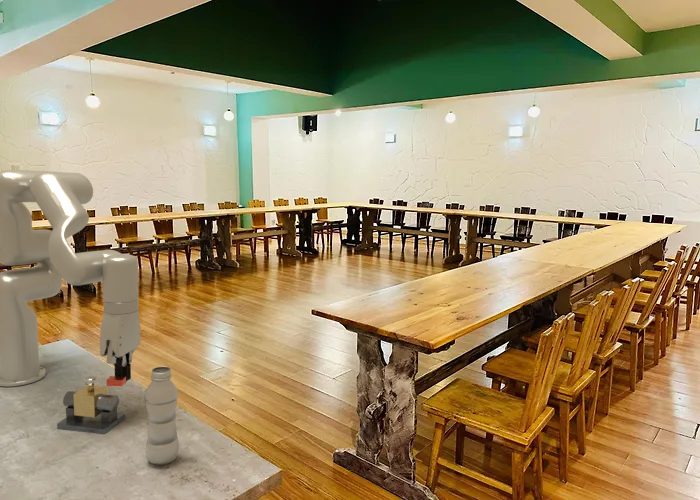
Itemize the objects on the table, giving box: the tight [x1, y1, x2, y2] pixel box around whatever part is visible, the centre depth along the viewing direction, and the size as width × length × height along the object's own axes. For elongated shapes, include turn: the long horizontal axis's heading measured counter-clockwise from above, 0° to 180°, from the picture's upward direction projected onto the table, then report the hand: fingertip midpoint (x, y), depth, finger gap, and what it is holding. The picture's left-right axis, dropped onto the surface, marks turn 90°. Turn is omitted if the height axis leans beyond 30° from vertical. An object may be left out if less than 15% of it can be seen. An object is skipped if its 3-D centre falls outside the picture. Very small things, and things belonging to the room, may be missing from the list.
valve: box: [56, 384, 126, 435], centre depth 115 cm, size 12×8×10 cm, turn 82°
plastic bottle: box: [143, 366, 180, 466], centre depth 101 cm, size 6×7×20 cm
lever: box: [84, 375, 127, 387], centre depth 115 cm, size 9×2×2 cm, turn 92°
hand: (122, 379), depth 118 cm, fingers closed
